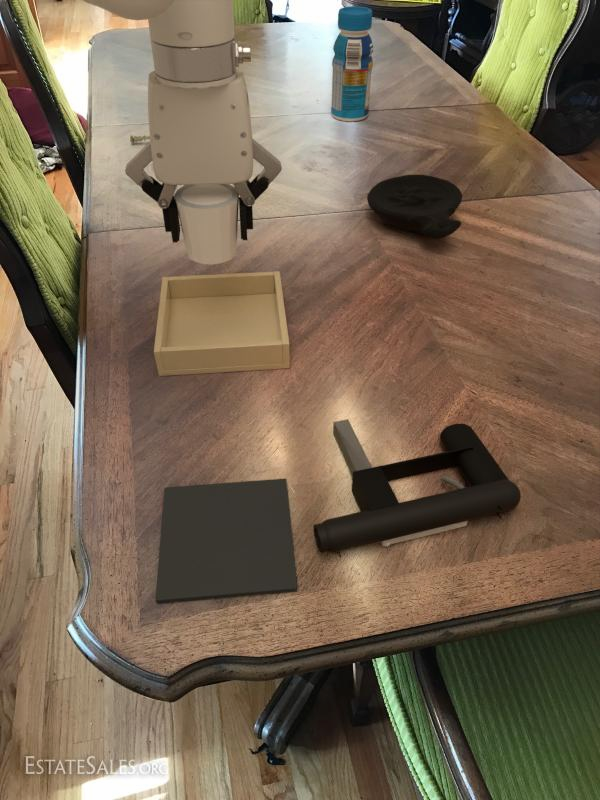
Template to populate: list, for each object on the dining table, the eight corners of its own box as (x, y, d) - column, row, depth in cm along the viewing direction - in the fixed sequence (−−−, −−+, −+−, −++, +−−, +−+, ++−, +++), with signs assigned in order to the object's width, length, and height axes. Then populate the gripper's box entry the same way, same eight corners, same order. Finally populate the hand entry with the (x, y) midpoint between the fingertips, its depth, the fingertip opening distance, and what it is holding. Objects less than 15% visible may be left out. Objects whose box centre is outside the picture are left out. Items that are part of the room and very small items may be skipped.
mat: (156, 603, 52) (155, 600, 52) (165, 491, 61) (164, 487, 60) (297, 591, 53) (297, 588, 52) (286, 481, 61) (286, 478, 61)
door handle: (279, 427, 63) (325, 552, 52) (456, 392, 67) (536, 502, 56) (280, 449, 66) (325, 575, 54) (451, 415, 70) (528, 524, 58)
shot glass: (195, 273, 67) (188, 213, 62) (172, 245, 71) (164, 186, 66) (251, 258, 69) (249, 199, 65) (227, 232, 74) (223, 175, 69)
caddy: (158, 376, 73) (153, 351, 70) (166, 300, 84) (162, 276, 81) (289, 368, 74) (289, 343, 71) (280, 294, 85) (279, 271, 82)
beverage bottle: (322, 116, 134) (325, 10, 120) (346, 106, 139) (352, 2, 125) (352, 125, 130) (359, 17, 116) (376, 115, 135) (385, 9, 121)
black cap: (391, 263, 91) (395, 232, 88) (354, 203, 105) (356, 175, 101) (484, 252, 93) (491, 222, 90) (436, 195, 107) (441, 167, 104)
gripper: (285, 48, 60) (284, 217, 72) (104, 49, 59) (134, 222, 71) (291, 71, 55) (290, 250, 67) (92, 72, 53) (128, 255, 65)
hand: (210, 234), depth 69 cm, fingers closed on shot glass, 6 cm apart
